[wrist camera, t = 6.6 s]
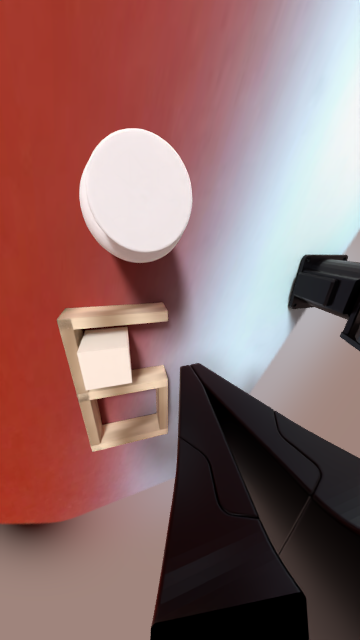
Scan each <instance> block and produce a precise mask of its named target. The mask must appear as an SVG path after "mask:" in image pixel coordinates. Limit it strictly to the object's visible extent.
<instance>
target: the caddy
mask: <svg viewBox="0 0 360 640" xmlns="http://www.w3.org/2000/svg"><path fill="white" fill-rule="evenodd" d="M164 321H168V311H167V309H166V307H165V306H164V304H163V302H162V303H146V304H130V305H114V306H98V307H83V308H67V309H65V310H64V311H63V312H62V313H61V315H60V316H59V317H58V319H57V323H58V326H59V330H60V334H61V337H62V341H63V345H64V349H65V352H66V356H67V360H68V363H69V367H70V371H71V374H72V378H73V382H74V386H75V389H76V393H77V397H78V400H79V404H80V408H81V412H82V415H83V419H84V423H85V426H86V430H87V434H88V438H89V441H90V445H91V449H92V452H94V451H98V450H102V449H106V448H110V447H114V446H118V445H122V444H126V443H130V442H135V441H139V440H143V439H147V438H151V437H155V436H159V435H163V434H167V433H168V379H167V375H166V372H165V369H164V365H161V366H154V367H148V368H141V369H134V370H131V373H132V383H128V384H122V385H116V386H110V387H104V388H98V389H92V390H86V389H85V385H84V380H83V376H82V372H81V368H80V364H79V360H78V355H77V351H78V349H79V346H80V344H81V341H82V338H83V332H82V329H86V328H97V327H108V326H120V325H131V324H142V323H153V322H164ZM155 388H156V406H157V413H156V414H151V415H147V416H142V417H137V418H132V419H128V420H123V421H118V422H114V423H109V424H104V425H102V421H101V416H100V412H99V407H98V402H97V399H99V398H105V397H110V396H116V395H122V394H127V393H133V392H138V391H144V390H149V389H155Z"/></svg>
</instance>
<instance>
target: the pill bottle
mask: <svg viewBox="0 0 360 640" xmlns="http://www.w3.org/2000/svg"><path fill="white" fill-rule="evenodd" d="M80 206H81V210H82V214H83V217H84V220H85V222H86V225H87V227H88V229H89V230H90V232H91V234H92V235H93V236H94V238H95V239H96V240H97V242H98V243H99V244H100V245H101V246H102V247H103V248H104V249H106V250H107V251H108V252H110V253H111V254H113V255H114V256H116V257H118V258H120V259H123V260H125V261H130V262H135V263H146V262H151V261H155V260H157V259H160V258H162V257H163V256H165V255H167V254H168V253H169V252H170V251H171V250H172V249H173V248H174V247H175V246H176V245H177V243H178V241H179V240H180V238H181V236H182V234H183V232H184V230H185V228H186V226H187V224H188V221H189V218H190V214H191V208H192V189H191V183H190V179H189V176H188V173H187V170H186V168H185V166H184V164H183V162H182V160H181V158H180V157H179V155H178V154H177V152H176V151H175V150H174V149H173V148H172V147H171V146H170V145H169V144H168V143H167V142H166V141H164V140H163V139H162V138H160V137H159V136H157V135H156V134H154V133H151V132H149V131H146V130H143V129H135V128H132V129H123V130H119V131H116V132H114V133H112V134H110V135H108V136H107V137H106V138H104V139H103V140H102V141H101V142H100V143H99V144H98V145H97V147H96V148H95V150H94V151H93V153H92V155H91V157H90V160H89V161H88V163H87V165H86V167H85V169H84V171H83V174H82V178H81V182H80Z"/></svg>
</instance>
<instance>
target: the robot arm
mask: <svg viewBox="0 0 360 640" xmlns="http://www.w3.org/2000/svg"><path fill="white" fill-rule="evenodd" d="M347 259H348V256H347V255H305V256H304V257H303V258H302V261H301V265H300V268H299V272H298V275H297V279H296V282H295V286H294V289H293V293H292V296H291V300H290V303H289V307H290V308H292V309H298V308H310V307H316V308H319V309H321V310H324V311H326V312H329V313H332V314H334V315H337V316H339V317H342V318H345V319H347V320H348V321H347V323H346V326H345V328H344V330H343V332H341V335H340V337H341V338H342V339H344V340H346V341H347V342H348V343H349V344H351V345H352V346H353V347H355V348H356V349H358V350H359V351H360V263H358V262H350V261H347ZM150 640H360V458H358V457H356V456H354V455H352V454H350V453H349V452H347V451H345V450H343V449H341V448H339V447H337V446H335V445H334V444H332V443H330V442H328V441H326V440H324V439H323V438H321V437H319V436H317V435H315V434H314V433H312V432H310V431H308V430H306V429H305V428H303V427H301V426H299V425H298V424H296V423H294V422H293V421H291V420H289V419H288V418H286V417H285V416H283V415H281V414H280V413H278V412H277V411H274V410H273V409H271V408H270V407H268V406H267V405H265V404H264V403H262V402H260V401H259V400H257V399H256V398H254V397H252V396H251V395H249V394H248V393H246V392H244V391H243V390H241V389H240V388H238V387H237V386H235V385H233V384H232V383H230V382H229V381H227V380H225V379H224V378H222V377H221V376H219V375H217V374H216V373H214V372H213V371H211V370H209V369H208V368H206V367H205V366H203V365H201V364H200V363H196V364H191V365H186V366H181V367H180V390H179V423H178V451H177V467H176V477H175V484H174V492H173V499H172V506H171V512H170V518H169V525H168V531H167V538H166V544H165V550H164V557H163V563H162V570H161V576H160V583H159V588H158V594H157V600H156V605H155V610H154V616H153V621H152V626H151V639H150Z"/></svg>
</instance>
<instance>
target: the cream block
mask: <svg viewBox="0 0 360 640" xmlns="http://www.w3.org/2000/svg"><path fill="white" fill-rule="evenodd" d="M77 355H78V360H79V364H80V368H81V372H82V376H83V380H84V385H85V389H86V390H92V389H98V388H104V387H110V386H116V385H122V384H128V383H132V373H131V357H130V347H129V337H128V327H119V328H108V329H97V330H86V331H85V333H84V336H83V338H82V341H81V344H80V346H79V349H78V351H77Z"/></svg>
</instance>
